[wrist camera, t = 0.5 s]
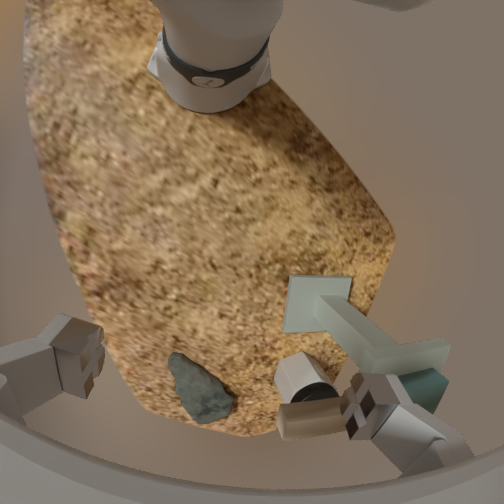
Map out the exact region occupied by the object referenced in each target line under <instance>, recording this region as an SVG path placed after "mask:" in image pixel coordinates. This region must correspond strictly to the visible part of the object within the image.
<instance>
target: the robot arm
mask: <svg viewBox="0 0 504 504" xmlns="http://www.w3.org/2000/svg"><path fill="white" fill-rule="evenodd" d="M150 1H151V2H152V3H153V4H154V5H155V6H156V7H157V8H158V9H159V11H160V13H161V17H162V20H163V25H164V26H163V32H159V34H158V37H157V40H158V43H157V45H156V47H155V49H154V52H153V54H152V56H151V58H150V61H149V63H148V72H149V73H150V74H151V75H152V76H154V77H155V78H156V79H158V80H159V81H160V82H161V83H162V84H163V86H164V88H165V90H166V92H167V93H168V95H169V96H170V97H171V98H172V99H173V100H174V101H175V102H176V103H178V104H179V105H181V106H182V107H184V108H186V109H189V110H192V111H196V112H202V113H214V112H220V111H224V110H227V109H229V108H232V107H234V106H235V105H237V104H239V103H240V102H241V101H242V100H244V99H245V98H246V97H247V96H248V94H249V93H250V92H251V91H252V90H254V89H256V88H258V87H261V86H263V85H265V84H267V83H268V82H269V81H270V79H271V69H270V61H269V54H268V46H267V45H268V41H269V37H270V34H271V32H272V30H273V28H274V27H275V25H276V23H277V22H278V20H279V18H280V16H281V14H282V10H283V0H150ZM354 1H358V2H362V3H366V4H370V5H373V6H377V7H381V8H384V9H388V10H391V11H396V12H403V11H408V10H412V9H416V8H419V7H421V6H424V5H426V4H429V3H430V2H432V1H434V0H354ZM103 339H104V330H103V328H102V327H101V326H98V325H95V324H92V323H89V322H86V321H84V320H81V319H78V318H74V317H72V316H69V315H66V314H64V313H60V314H58V315H57V316H56V317H55V318H54V319H53V320H52V321H51V322H50V323H49V324H48V326H47V327H46V328H45V329H44V330H43V331H42V332H41V333H40V335H39V336H38V337H37V338H36V339H32V338H30V339H26V340H23V341H20V342H17V343H13V344H10V345H7V346H4V347H0V504H504V445H503V446H500V447H498V448H496V449H494V450H491V451H489V452H486V453H484V454H481V455H478V456H476V457H475V456H474V454H473V453H472V451H471V449H470V447H469V445H468V444H467V442H466V440H465V439H464V437H463V435H462V434H460V433H459V432H458V431H456V430H454V429H453V428H452V427H450V426H449V425H447V424H446V423H444V422H443V421H441V420H440V419H438V418H437V417H435V416H434V415H433V414H431V413H430V412H428V411H427V410H425V409H424V408H422V407H421V406H419V405H418V404H413V402H412V400H411V399H410V397H409V395H408V394H407V392H406V390H405V388H404V387H403V385H402V383H401V382H400V380H399V378H398V377H397V375H395V374H392V373H382V374H374V373H356V374H355V375H354V376H353V377H352V379H351V381H350V382H351V387H350V388H348V389H347V390H345V391H344V393H343V396H342V397H341V401H340V411H341V415H342V417H344V418H345V419H346V420H347V423H346V425H345V427H346V430H347V433H348V436H349V439H350V440H371V441H372V442H373V443H374V444H375V445H376V447H377V448H378V449H379V450H380V451H382V453H383V454H384V455H385V456H386V457H387V458H388V459H389V460H390V461H391V462H392V463H393V464H394V465H395V466H396V467H397V468H398V469H399V470H400V471H401V472H402V474H401V475H400V476H399V477H398V478H397V479H393V480H388V481H382V482H376V483H369V484H362V485H354V486H345V487H334V488H319V489H256V488H241V487H230V486H220V485H213V484H206V483H199V482H192V481H187V480H181V479H176V478H171V477H166V476H162V475H157V474H153V473H149V472H145V471H141V470H137V469H134V468H130V467H127V466H123V465H120V464H117V463H113V462H110V461H107V460H104V459H101V458H99V457H96V456H93V455H90V454H87V453H85V452H82V451H80V450H77V449H75V448H72V447H69V446H67V445H65V444H62V443H60V442H58V441H55V440H53V439H51V438H49V437H47V436H45V435H43V434H41V433H39V432H37V431H35V430H32V429H31V428H29V427H27V425H26V423H25V421H24V419H23V417H22V416H23V415H25V414H27V413H28V412H30V411H32V410H34V409H35V408H37V407H39V406H40V405H42V404H44V403H46V402H47V401H49V400H51V399H52V398H54V397H56V396H57V395H59V394H61V393H62V391H64V392H67V393H69V394H72V395H75V396H78V397H80V398H84V399H87V397H88V396H89V394H90V392H91V390H92V388H93V386H94V382H93V378H95V377H98V376H99V374H100V373H101V371H102V367H103V364H104V358H105V349H104V347H103V346H102V344H101V342H102V340H103Z"/></svg>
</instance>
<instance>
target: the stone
mask: <svg viewBox="0 0 504 504" xmlns="http://www.w3.org/2000/svg"><path fill="white" fill-rule="evenodd" d="M168 362H169V363H168V367H169V370H170V371H171V373H172V375H173V377H174V378H175V380H176V384H175V391H176V393H177V394H178V395H179V396H180V397H181V399H182V400H181V405H182V406H183V407H184V408H185V409H186V411H187V412H188V413H189V415H190V416H191V417H192V419H193V420H194V421H196V422H197V423H198V424H208V423H211V422H214V421H216V420H218V419H221V418H223V417H225V416H228V415H229V414H230V412H231V409H232V403H233V399H234V397H232V396H230V395H228V394H227V393H226V392H225V391H224V388H223V385H222V384H221V383H220V382H219V381H218V380H217V379H216V378H215V377H213V376H212V375H210V374H209V373H207V372H205V371H204V370H203V369H202V368H201V367H200V366H199V365H197V364H195V363H193V362H191V361H190V360H189V359H188V358H187V357H186V356H184V355H183V354H181V353H176V352H173V353H172V354H171V355H170V357H169V359H168Z"/></svg>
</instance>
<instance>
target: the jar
mask: <svg viewBox="0 0 504 504" xmlns="http://www.w3.org/2000/svg"><path fill="white" fill-rule="evenodd" d="M274 381H275V384H276V386H277V388H278V390H279V393H280V395H281V397H282V400H283V402H284V404H286V403H296V402H305V401H313V400H321V399H328V398H335V397H339V395H338V393H337V391H336V388H335V386H334V385H333V383H332V382H331V380H330V379H329V378H328V376H327V375H326V373H325V372H324V370H323V369H322V367H321V366H320V365H319V363H318V362H317V361H316V360H314V359H313V358H312V357H310V356H309V355H307V354H306V353H305V352H303V351H301V352H299V353H296V354H294V355H291V356H289V357H286V358H284V359H281V360H280V361H279V364H278V367H277V370H276V373H275V377H274Z"/></svg>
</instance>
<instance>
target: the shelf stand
mask: <svg viewBox="0 0 504 504" xmlns="http://www.w3.org/2000/svg"><path fill="white" fill-rule="evenodd" d="M351 280H352V278H350V277H349V276H315V275H290V279H289V286H288V293H287V300H286V307H285V314H284V321H283V327H282V330H283V332H284V333H296V332H321V331H327V332H328V333H329V334H330V335H331V336H332V337H333V339H334V340H335V341H336V342H337V343H338V344H339V345H340V346H341V348H342V349H343V350H344V351H345V352H346V353H347V354H348V356H349V357H350V358H351V359H352V360H353V361H354V362H355V363H356V365H357V366H358V367H359V368H360V369H359V372H358V373H374V374H382V373H392V374H395V375H397V376H400V375H404V374H409V373H413V372H417V371H421V370H425V369H429V368H434V369H435V370H437V371H438V372H439V373H441V371H442V368H443V366H444V363H445V361H446V358H447V356H448V353H449V351H450V348H451V345H450V344H449V343H448V342H446V341H445V340H443V339H442V338H436V339H431V340H425V341H419V342H413V343H407V344H401V345H399V344H398V343H397V342H396V341H394V340H393V339H392V338H391V337H390V336H389V335H387V334H386V333H385V332H384V331H383V330H381V329H380V328H379V327H378V326H376V325H375V324H374V323H373V322H372V321H370V320H369V319H368V318H367V317H366V316H364V315H363V314H362V313H361V312H359V311H358V310H357V309H356V308H354V307H353V306H352V305H351V304H350V303H348V302H347V300H348V295H349V290H350V285H351ZM345 432H346V433H347V431H345ZM347 435H348V433H347Z"/></svg>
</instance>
